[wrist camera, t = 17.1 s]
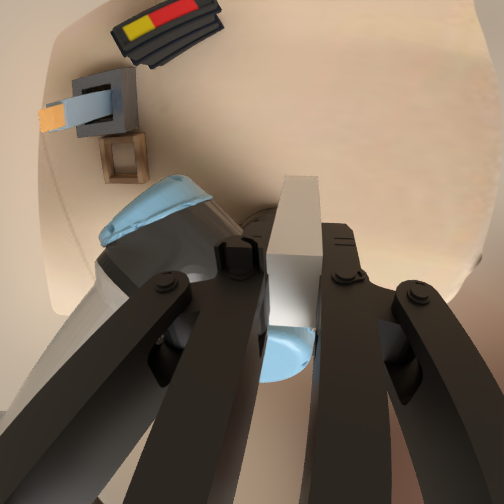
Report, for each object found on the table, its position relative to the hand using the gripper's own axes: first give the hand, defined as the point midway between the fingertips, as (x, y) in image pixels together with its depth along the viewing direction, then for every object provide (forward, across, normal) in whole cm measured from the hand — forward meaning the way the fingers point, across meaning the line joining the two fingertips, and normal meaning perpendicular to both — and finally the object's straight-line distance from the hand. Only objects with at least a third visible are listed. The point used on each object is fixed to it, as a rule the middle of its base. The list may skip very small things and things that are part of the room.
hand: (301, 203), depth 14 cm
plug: (+29, +30, -6) cm, 42 cm away
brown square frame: (+29, +29, +4) cm, 41 cm away
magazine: (+29, +15, -14) cm, 35 cm away
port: (+29, +30, -6) cm, 42 cm away
